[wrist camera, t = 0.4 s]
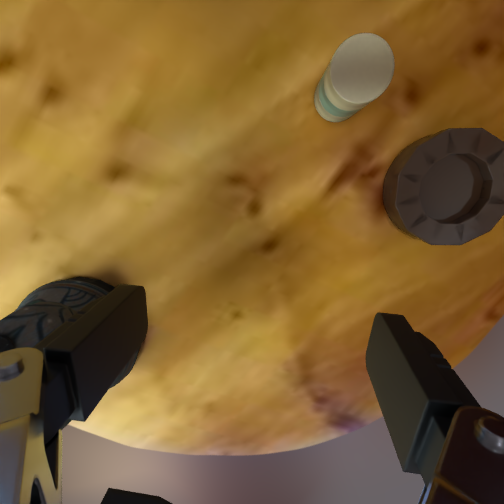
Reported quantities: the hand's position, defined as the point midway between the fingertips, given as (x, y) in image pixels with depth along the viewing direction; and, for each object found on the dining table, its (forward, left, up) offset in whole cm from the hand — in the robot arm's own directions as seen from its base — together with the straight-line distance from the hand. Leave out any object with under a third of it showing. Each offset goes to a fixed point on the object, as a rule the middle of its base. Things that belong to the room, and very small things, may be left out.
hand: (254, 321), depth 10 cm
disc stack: (-13, +8, -27) cm, 31 cm away
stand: (-3, +20, -27) cm, 34 cm away
